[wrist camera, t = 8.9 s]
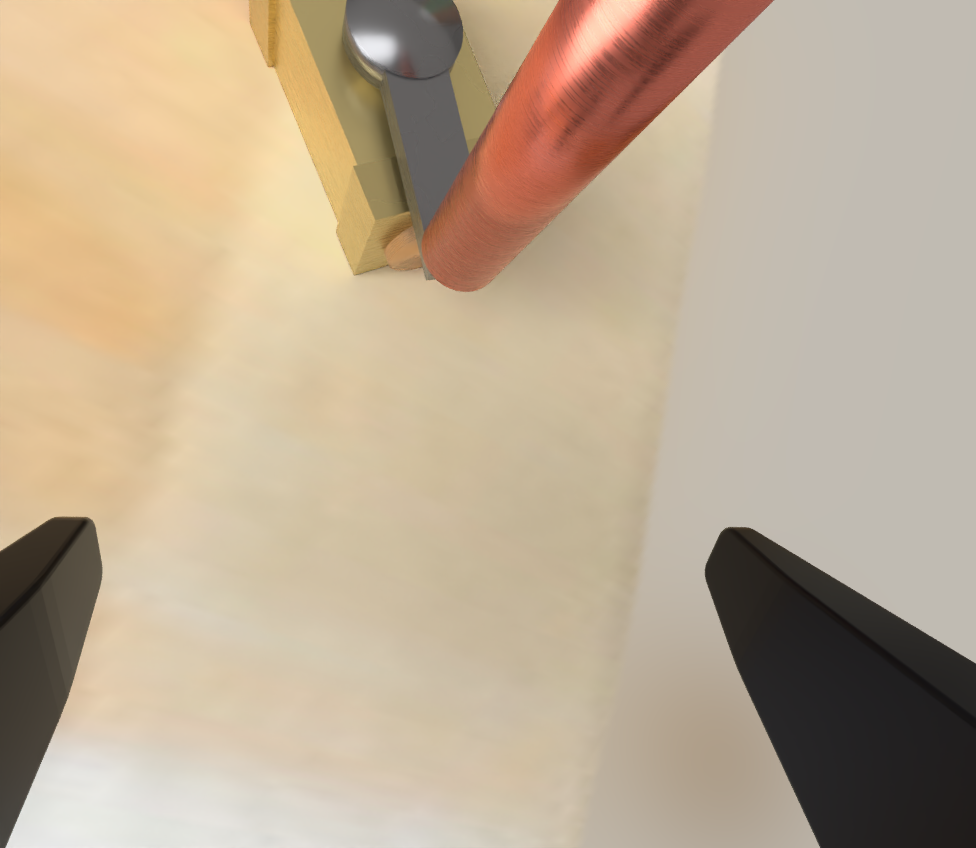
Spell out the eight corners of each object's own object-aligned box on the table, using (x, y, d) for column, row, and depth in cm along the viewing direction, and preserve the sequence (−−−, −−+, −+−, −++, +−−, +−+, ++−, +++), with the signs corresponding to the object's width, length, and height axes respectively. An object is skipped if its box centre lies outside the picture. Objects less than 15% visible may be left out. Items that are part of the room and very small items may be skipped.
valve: (490, 246, 23) (538, 190, 19) (358, 286, 21) (380, 233, 17) (386, -7, 23) (413, -118, 19) (245, 11, 21) (240, -108, 17)
